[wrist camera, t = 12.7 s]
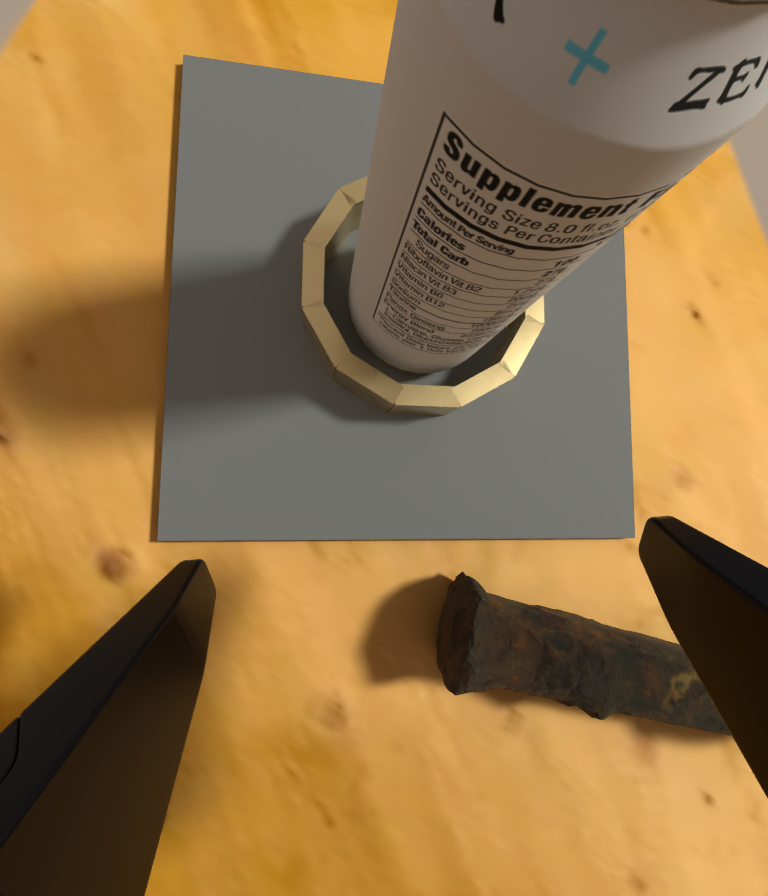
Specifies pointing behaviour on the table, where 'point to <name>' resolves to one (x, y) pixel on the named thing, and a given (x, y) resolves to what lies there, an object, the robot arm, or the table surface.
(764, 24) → the energy drink can
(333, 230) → the wooden ring
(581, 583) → the table surface
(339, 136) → the rubber mat
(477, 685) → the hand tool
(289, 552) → the table surface
